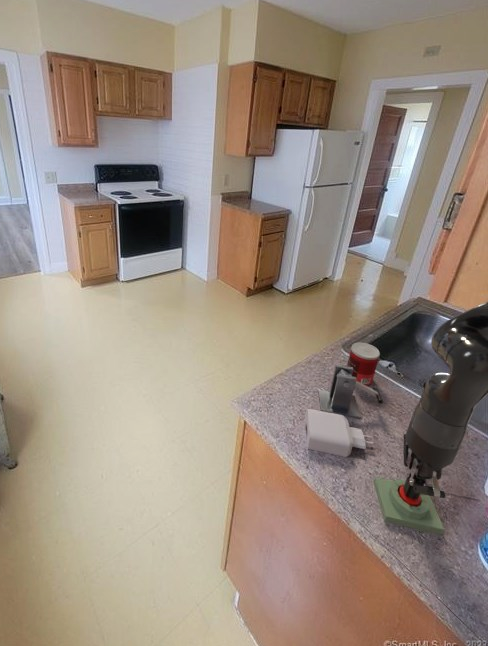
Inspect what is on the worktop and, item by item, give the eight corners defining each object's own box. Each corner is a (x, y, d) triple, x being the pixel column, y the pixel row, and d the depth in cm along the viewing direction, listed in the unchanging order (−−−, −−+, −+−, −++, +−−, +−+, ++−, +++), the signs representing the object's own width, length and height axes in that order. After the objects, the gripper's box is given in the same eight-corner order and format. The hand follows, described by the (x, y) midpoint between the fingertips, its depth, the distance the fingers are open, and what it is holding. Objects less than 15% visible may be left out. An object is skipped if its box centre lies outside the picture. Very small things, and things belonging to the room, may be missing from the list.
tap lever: (374, 392, 88) (380, 386, 87) (379, 406, 83) (385, 400, 82) (335, 371, 88) (340, 365, 87) (338, 384, 84) (344, 377, 83)
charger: (375, 465, 73) (306, 451, 76) (365, 432, 81) (304, 420, 84) (379, 450, 71) (309, 436, 74) (369, 417, 80) (307, 406, 82)
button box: (424, 492, 67) (429, 481, 66) (441, 535, 60) (447, 523, 59) (373, 482, 69) (376, 470, 68) (384, 521, 62) (388, 510, 61)
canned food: (375, 379, 100) (384, 350, 95) (365, 392, 94) (374, 361, 90) (351, 367, 105) (357, 339, 100) (340, 379, 99) (347, 349, 95)
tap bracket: (353, 398, 92) (362, 365, 87) (360, 420, 85) (369, 385, 80) (317, 392, 94) (324, 359, 89) (320, 413, 86) (328, 378, 82)
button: (414, 493, 65) (416, 487, 65) (421, 511, 62) (423, 505, 61) (395, 489, 66) (397, 483, 65) (401, 507, 63) (403, 501, 62)
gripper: (481, 468, 50) (447, 536, 57) (442, 405, 62) (417, 467, 69) (428, 458, 52) (400, 526, 58) (399, 398, 64) (379, 460, 70)
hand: (409, 494), depth 63 cm, fingers closed
